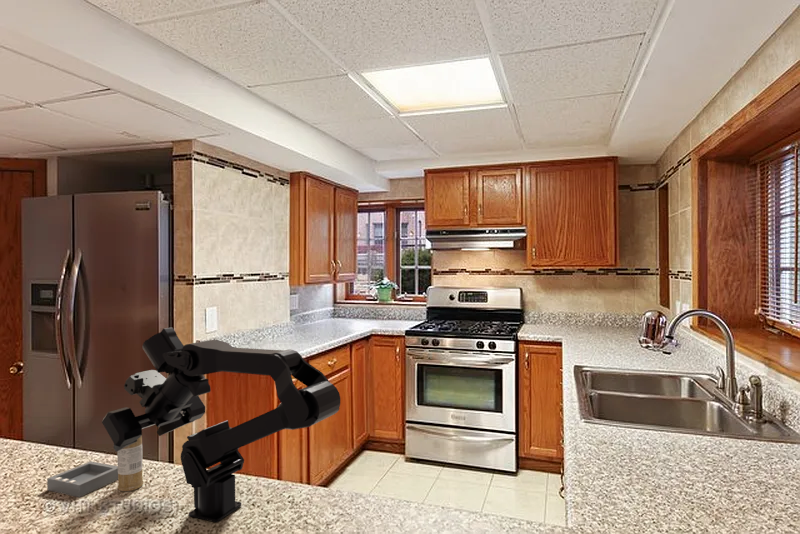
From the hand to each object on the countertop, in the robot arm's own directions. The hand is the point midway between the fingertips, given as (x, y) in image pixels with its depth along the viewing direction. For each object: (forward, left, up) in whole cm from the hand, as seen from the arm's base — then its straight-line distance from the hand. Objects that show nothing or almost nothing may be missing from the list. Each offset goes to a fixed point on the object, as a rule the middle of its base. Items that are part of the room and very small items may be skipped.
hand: (137, 441), depth 96 cm
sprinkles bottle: (+2, 0, -10) cm, 10 cm away
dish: (+12, +2, -9) cm, 16 cm away
